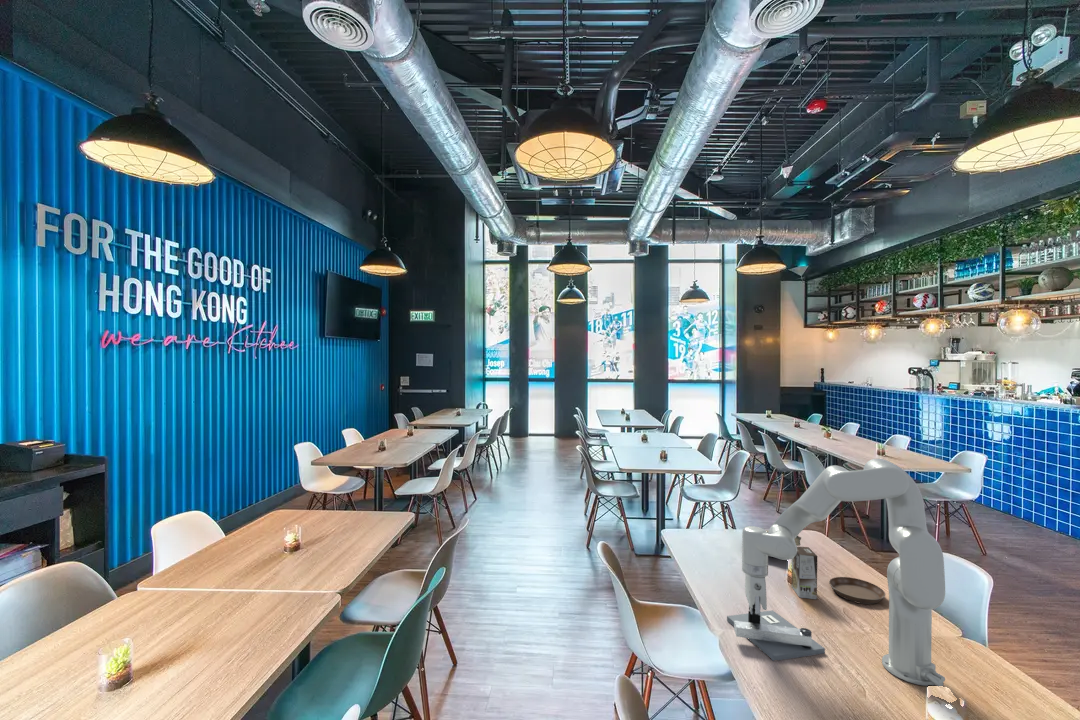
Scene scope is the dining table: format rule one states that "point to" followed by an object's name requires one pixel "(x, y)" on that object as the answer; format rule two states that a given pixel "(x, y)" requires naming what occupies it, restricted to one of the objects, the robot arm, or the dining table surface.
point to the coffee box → (805, 573)
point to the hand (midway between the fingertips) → (754, 625)
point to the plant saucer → (857, 590)
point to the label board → (778, 648)
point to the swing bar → (773, 633)
